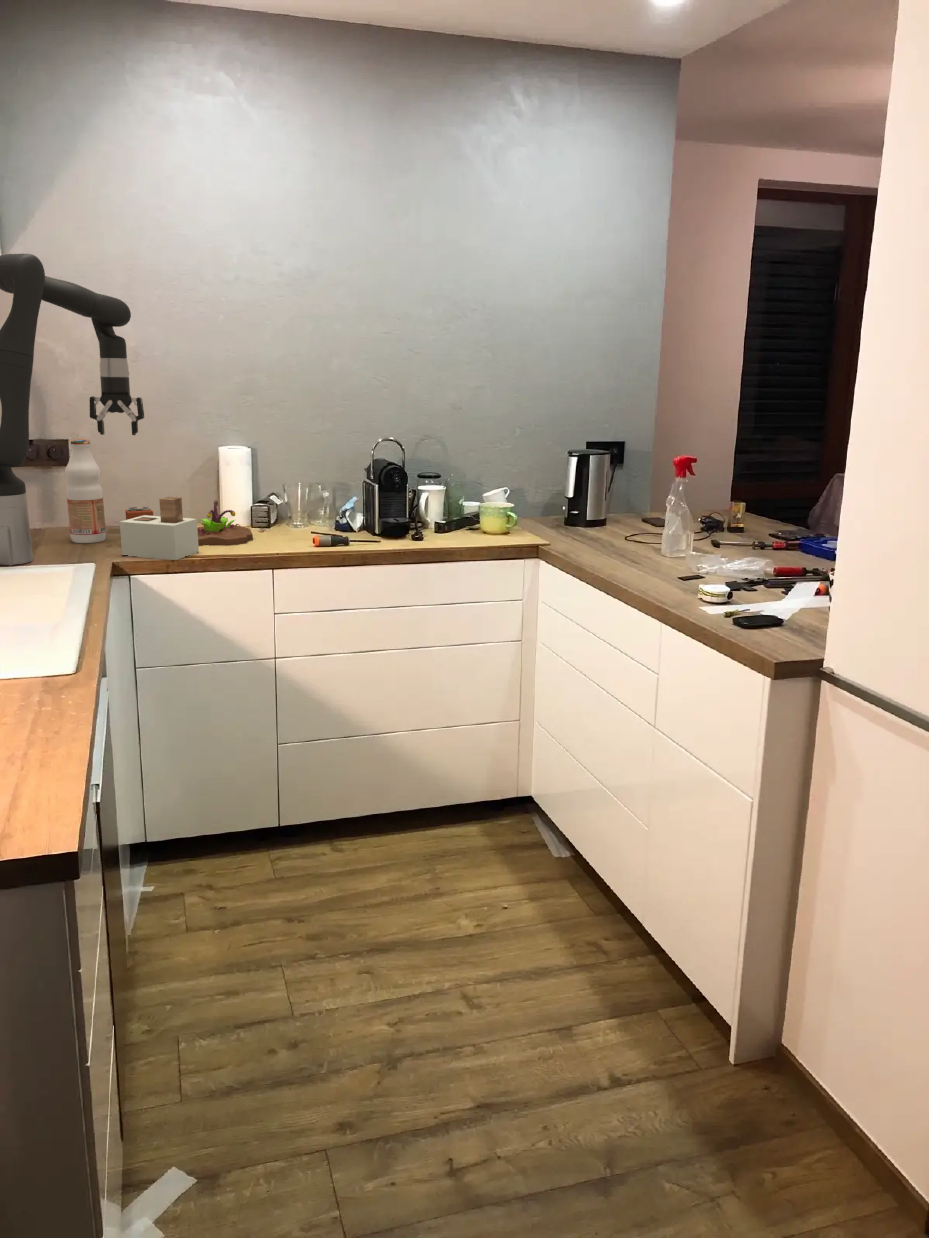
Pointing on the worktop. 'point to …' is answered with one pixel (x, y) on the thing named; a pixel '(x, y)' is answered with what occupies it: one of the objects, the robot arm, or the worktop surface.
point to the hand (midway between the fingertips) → (118, 434)
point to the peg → (171, 510)
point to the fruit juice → (84, 495)
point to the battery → (138, 512)
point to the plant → (222, 530)
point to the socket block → (159, 538)
